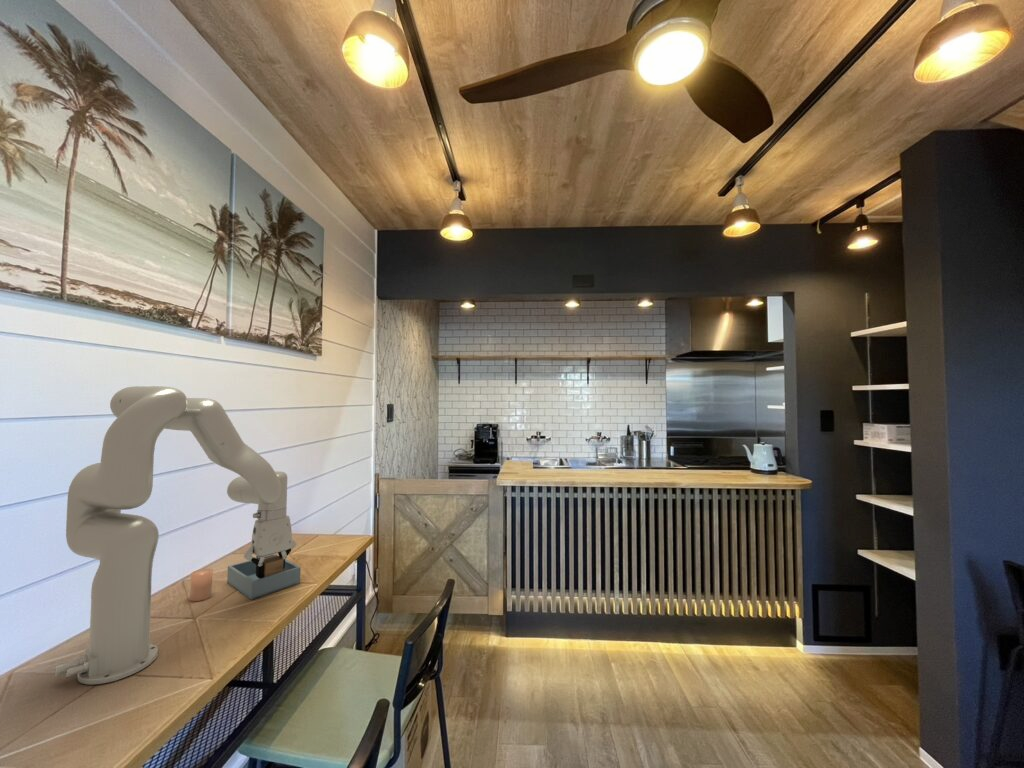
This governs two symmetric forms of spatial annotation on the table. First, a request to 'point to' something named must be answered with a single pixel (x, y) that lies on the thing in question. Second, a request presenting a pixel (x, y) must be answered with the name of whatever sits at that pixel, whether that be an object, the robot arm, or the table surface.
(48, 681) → the table surface
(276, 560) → the walnut cube
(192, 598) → the salmon orange cylinder
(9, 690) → the table surface
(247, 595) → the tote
